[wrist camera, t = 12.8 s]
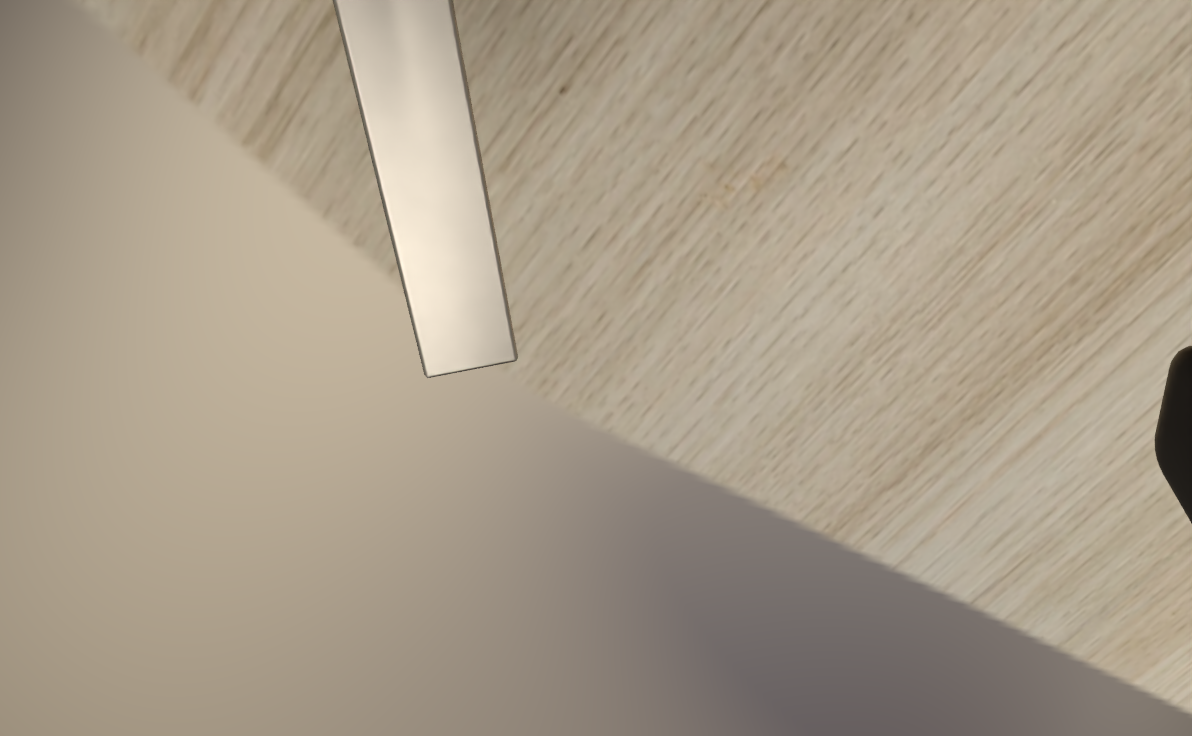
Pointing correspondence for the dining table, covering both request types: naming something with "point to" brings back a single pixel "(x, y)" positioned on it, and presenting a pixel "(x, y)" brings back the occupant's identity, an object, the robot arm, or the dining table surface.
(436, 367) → the scoop
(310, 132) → the dining table surface
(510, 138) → the dining table surface
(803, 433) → the dining table surface
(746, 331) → the dining table surface
